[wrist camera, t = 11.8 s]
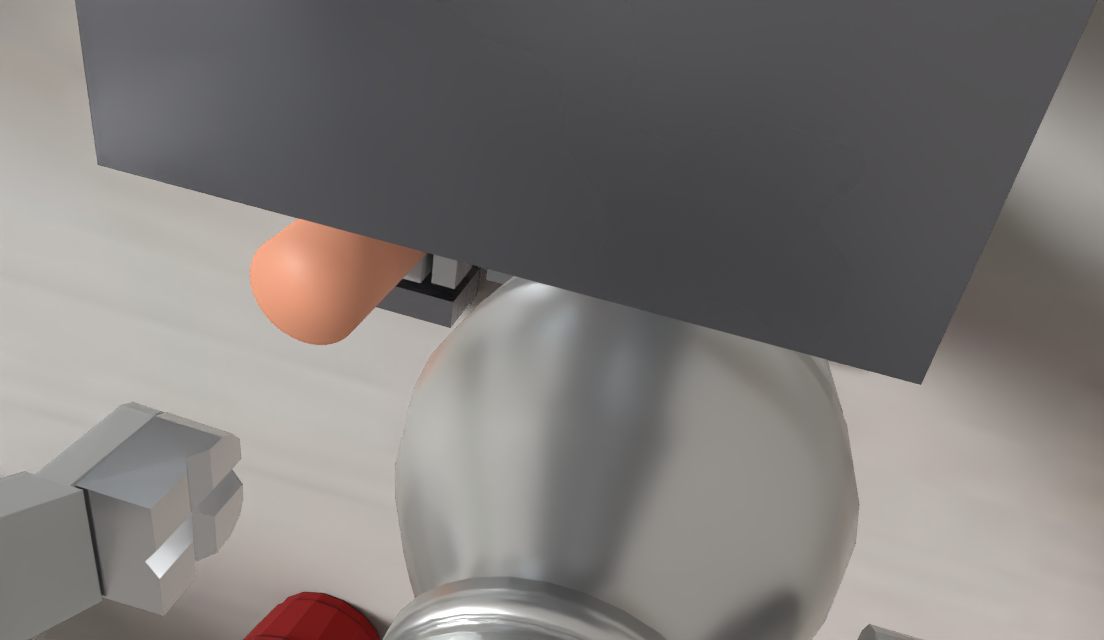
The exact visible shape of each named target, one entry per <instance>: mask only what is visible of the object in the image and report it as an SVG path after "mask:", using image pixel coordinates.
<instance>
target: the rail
mask: <svg viewBox="0 0 1104 640" xmlns="http://www.w3.org/2000/svg"><path fill="white" fill-rule="evenodd" d="M479 273H480V269H479V268H476V267H472V265H471V264H467V263H463V262H460V261H456V260H452V259H448V258H445V257H441V256H437V255H434V258H433V269H432V271H431V272H430V273H429V274H428V275H427V276H426V277H425V279H424V280H423V281H422V282H421V283H418V282H414V281H411V280H407V279H402V280H401V281H400V282H399V283H398V284H397V285H396V286H395V287H394V288H393V289H392V290H391V291H390V292H389V293H388V294H387V295H386V297H385V298H384V299H383V300H382V301H381V302H380V303H379V304H378V305H377V306H376V307H378V308H381V309H385V310H388V311H392V312H396V313H399V314H403V315H406V316H410V317H413V318H417V319H421V320H424V321H428V322H431V323H435V324H438V325H442V326H445V327H449V328H451V327H452V325H453V324H454V323H455V321H456V320H457V319H458V317H459V316H460V315H461V314H462V312H463V311H464V310H465V308H466V307H467V306H468V304H469V303H470V302H471V300H472V299H473V298H474V297H475V295H476V294H477V290H478V281H479Z"/></svg>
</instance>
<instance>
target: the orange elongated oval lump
mask: <svg viewBox="0 0 1104 640" xmlns="http://www.w3.org/2000/svg"><path fill="white" fill-rule="evenodd" d="M433 258H434V255H433V254H430V253H426V252H422V251H419V250H415V249H411V248H407V247H404V246H400V245H396V244H392V243H389V242H385V241H381V240H377V239H374V238H370V237H366V236H362V235H359V234H355V233H351V232H347V231H344V230H340V229H336V228H332V227H329V226H325V225H321V224H317V223H314V222H310V221H306V220H302V219H297V220H296V221H294V222H293V223H292V224H290V225H289V226H288V227H286V228H285V229H283V230H282V231H281V232H279V233H278V234H277V235H275V236H274V237H272V238H271V239H270V240H268V241H267V242H265V243H264V244H263V245H262V246H261V247H260V248H259V249H258V250H257V252H256V253H255V255H254V257H253V260H252V263H251V268H250V282H251V287H252V291H253V294H254V297H255V299H256V301H257V303H258V305H259V306H260V308H261V310H262V311H263V313H264V314H265V315H266V317H267V318H268V319H269V320H270V321H271V322H272V323H273V324H274V325H275V326H276V327H277V328H279V329H280V330H281V331H283V332H284V333H286V334H287V335H289V336H291V337H293V338H295V339H297V340H299V341H302V342H305V343H309V344H316V345H327V344H333V343H336V342H338V341H340V340H342V339H344V338H345V337H347V336H348V335H349V334H350V333H351V332H352V331H353V330H354V329H355V328H356V327H357V326H358V325H359V324H360V323H361V322H362V321H363V319H364V318H365V317H366V316H367V315H368V314H369V313H370V312H371V311H372V310H373V309H374V308H375V307H376V306H377V305H378V304H379V303H380V302H381V301H382V300H383V299H384V298H385V297H386V295H387V294H388V293H389V292H390V291H391V290H392V289H393V288H394V287H395V286H396V285H397V284H398V283H399V282H400V281H401V280H402V279H407V280H411V281H414V282H418V283H421V282H422V281H423V280H424V279H425V277H426V276H427V275H428V274H429V273H430V272H431V271H432V269H433Z"/></svg>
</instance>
